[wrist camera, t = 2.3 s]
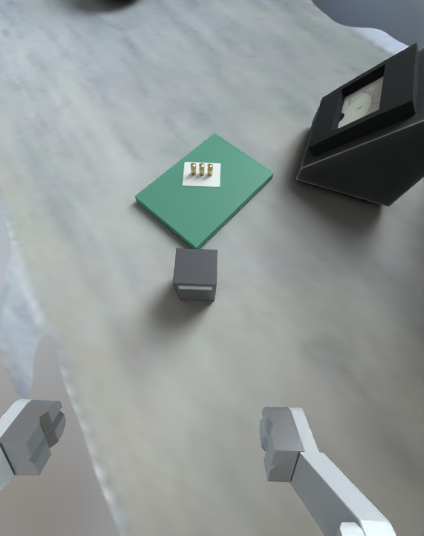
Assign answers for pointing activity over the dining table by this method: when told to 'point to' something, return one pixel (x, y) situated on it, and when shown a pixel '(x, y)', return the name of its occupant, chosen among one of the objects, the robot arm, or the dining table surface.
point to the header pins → (201, 169)
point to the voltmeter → (371, 132)
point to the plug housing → (195, 274)
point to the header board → (204, 190)
